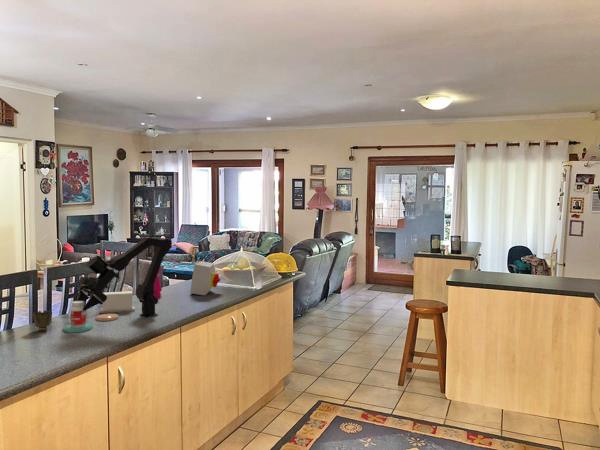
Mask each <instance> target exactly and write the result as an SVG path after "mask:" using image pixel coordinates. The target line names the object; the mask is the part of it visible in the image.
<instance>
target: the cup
mask: <svg viewBox="0 0 600 450" xmlns="http://www.w3.org/2000/svg"><path fill="white" fill-rule="evenodd" d="M52 316H53V311H50V310H49V309H48V310H43V312H42V311H41V310H39V311H35V312H33V313H32V318H33V323H34V326H36V328H37V330H38V331H39V332H44V331H47V330H48V327H49V326H50V325H51V322H52V318H53V317H52Z"/></svg>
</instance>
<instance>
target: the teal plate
mask: <svg viewBox="0 0 600 450" xmlns="http://www.w3.org/2000/svg"><path fill="white" fill-rule="evenodd" d="M93 328H94V325H93V324H92V323H89V322H86V326H84V327H81V328H72V327H71V323H70V324H66V325H64V326H63V327H62V332H64V333H69V334H70V333H71V334H74V333H75V334H76V333H78V334H79V333H85V332H87V331H91V330H92V329H93Z"/></svg>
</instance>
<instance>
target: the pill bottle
mask: <svg viewBox="0 0 600 450" xmlns="http://www.w3.org/2000/svg"><path fill="white" fill-rule="evenodd" d="M71 304H72V306H71V308H70V324H71V327H72V328H81V327H84V326H86V323H87V310H85V311H84V310H83V307H84V306H85V301H76V300H74V301H72V303H71Z"/></svg>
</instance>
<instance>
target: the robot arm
mask: <svg viewBox="0 0 600 450" xmlns="http://www.w3.org/2000/svg"><path fill="white" fill-rule="evenodd" d="M172 245H173V244H172V242H171V240H170V239H168V238H163V237H158V238H153V237H150V236H144V237H143V238H142V239H141V240H140V241H138V242H136V244H134V245H133V246H132V247H130V248H129V249H128V250H126V251H125V252H123V253H121V254H120V253H119V254H117V255H116V256H113V257H111V258H110V259H109V260H104V259H103V258H102V256H100V255H96V256H94V257H92V258H91V259H89V260H88V261H87V262H86V265H85V266H86V267H87V268H88V269H90V270H91V272H93V273H94V274H95V275H98V274H99V275H98V276H96V277H92V276H89V277H86V276H80V278H79V280H78V282H77V283H79V285H78V286H77V291H78V296H77V298H76V300H75V301H84V302H85V301H87V302H86V303H84V305H83V306H84V307H83V310H84V311H85V310H86V311H88V310H89V309H91V308H93V307H95V306H97V305H100V304H103V302H105V301H106V300H107V296H106V295H105V294H104V293H105V292H103V291H104V290H105V289H108V288H109V286H108V285H109V284H110V283H111V282H112V280H114V278H115V279H118V280H119V279H120V275H119V274H120V273H119V272H122V271H124V270H125V269H126V268H127V266H129V264H130V262H131V261H132V260H133V259H134V258H136V257H137V256H138V255H140V254H141V253H142V252H143V251H145V250H146V249H148V248H149V247H151V246H153V255H152V259H151V262H150V265H149V267H148V270H147V273H146V276H145V278H144V281H143V282H142V283H138V284H137V289H136V290H135V292H136V293H135V296H136V298H137V299H138V301H139V303H141V313H139V314H138V315H139V316H141V317H144V318H150V317H151V318H152V317H154V316H158V313H156V305H157V304H158V303H159V299H158V298H156V297H155V296H154V283H155V280H156V277H157V274H158V272H159V269H160V268H161V265H162V263H163V260H164V258H165V256H166V255H167V254H168V253H169V251H170V250H171V248H172ZM115 271H117V272H115Z"/></svg>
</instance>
